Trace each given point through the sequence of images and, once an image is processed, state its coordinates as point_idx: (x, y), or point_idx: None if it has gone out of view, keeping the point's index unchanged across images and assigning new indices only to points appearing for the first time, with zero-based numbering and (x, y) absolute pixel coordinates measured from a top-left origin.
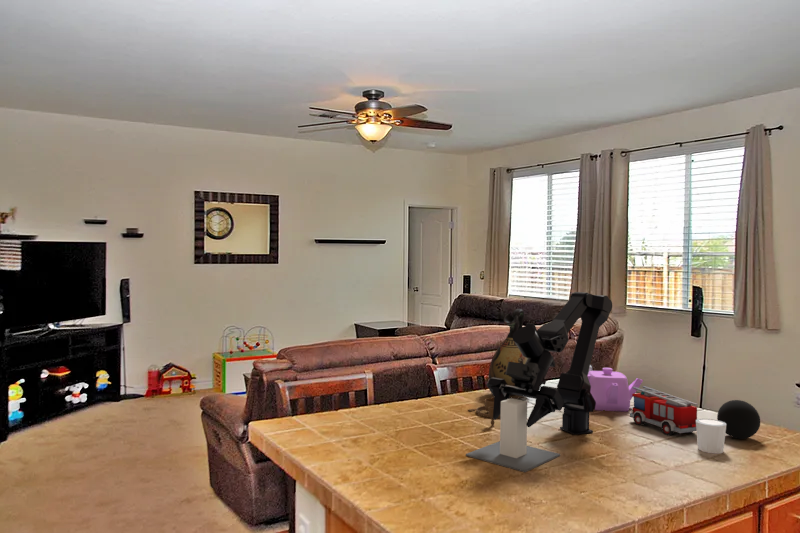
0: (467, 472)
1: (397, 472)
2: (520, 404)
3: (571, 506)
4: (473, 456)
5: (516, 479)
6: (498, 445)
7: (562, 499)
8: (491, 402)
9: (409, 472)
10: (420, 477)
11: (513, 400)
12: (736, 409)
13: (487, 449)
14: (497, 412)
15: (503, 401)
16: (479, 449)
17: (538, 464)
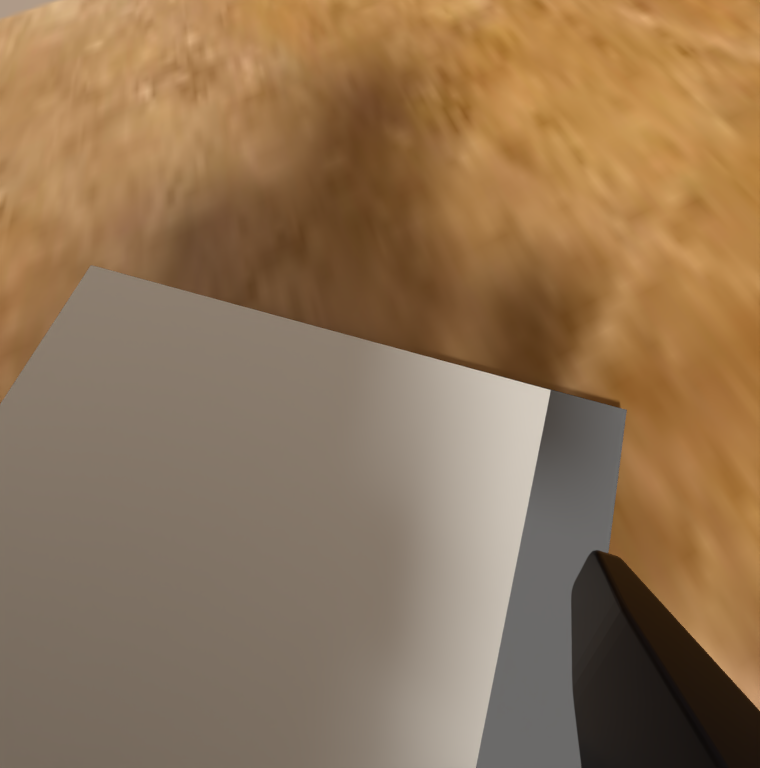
0: (489, 198)
1: (742, 85)
2: (24, 404)
3: (54, 92)
4: (564, 393)
5: (265, 217)
6: (518, 738)
7: (80, 125)
8: None
9: (702, 103)
10: (629, 82)
11: (222, 708)
12: None
13: (548, 574)
14: (608, 660)
15: (473, 398)
16: (598, 547)
17: None
